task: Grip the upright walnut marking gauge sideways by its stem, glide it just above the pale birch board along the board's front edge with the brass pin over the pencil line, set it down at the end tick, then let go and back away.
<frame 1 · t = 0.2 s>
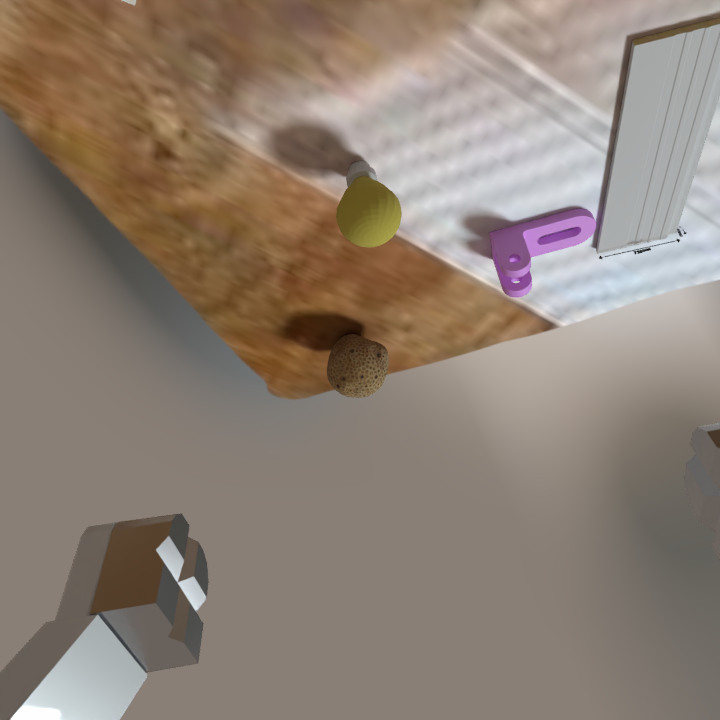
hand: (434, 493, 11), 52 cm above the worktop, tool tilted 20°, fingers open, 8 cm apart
bracket: (540, 230, 86), on the worktop
light bulb: (359, 168, 73), on the worktop
natural sponge: (353, 335, 100), on the worktop
baseboard molding: (660, 145, 77), on the worktop
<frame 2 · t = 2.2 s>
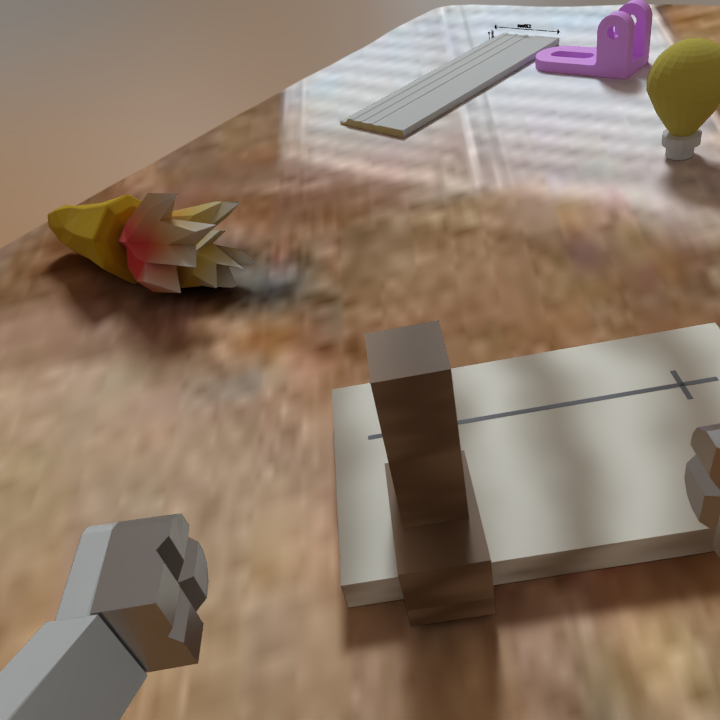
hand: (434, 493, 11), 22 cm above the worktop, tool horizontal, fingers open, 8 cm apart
bracket: (585, 69, 83), on the worktop
marking gauge: (437, 534, 34), point 2 cm above the worktop, touching birch board
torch: (151, 269, 64), on the worktop
light bulb: (679, 156, 62), on the worktop
birch board: (550, 461, 38), on the worktop
baseboard molding: (451, 88, 88), on the worktop
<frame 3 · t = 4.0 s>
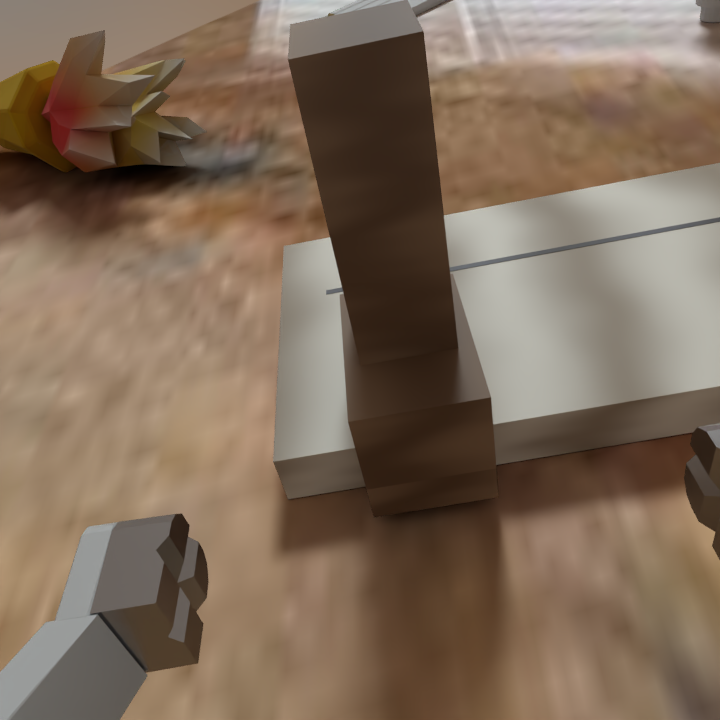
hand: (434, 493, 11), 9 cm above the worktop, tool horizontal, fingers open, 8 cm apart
marking gauge: (415, 394, 24), point 2 cm above the worktop, touching birch board
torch: (87, 159, 54), on the worktop
light bulb: (716, 20, 52), on the worktop
birch board: (572, 319, 28), on the worktop
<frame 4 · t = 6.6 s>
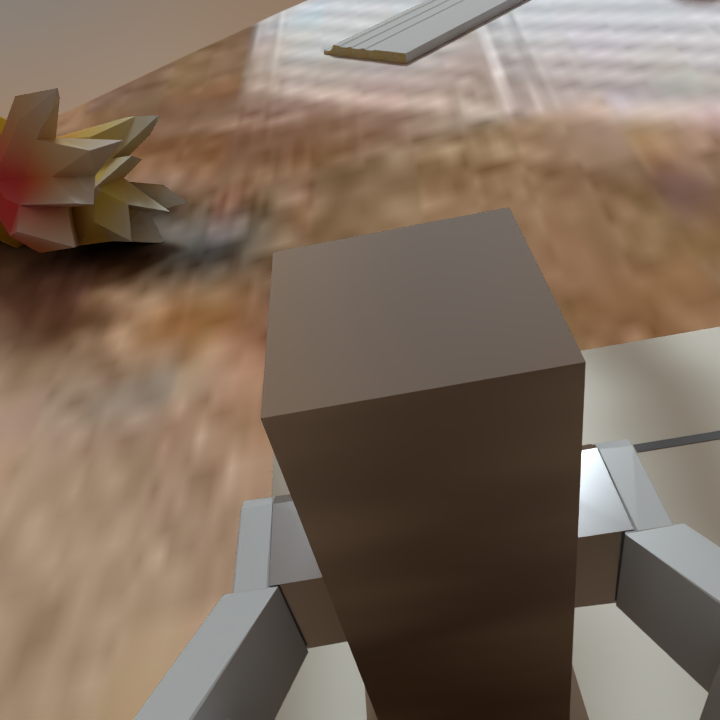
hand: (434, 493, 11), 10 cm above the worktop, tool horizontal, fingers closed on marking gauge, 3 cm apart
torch: (44, 229, 46), on the worktop
birch board: (689, 548, 20), on the worktop
baseboard molding: (465, 13, 69), on the worktop
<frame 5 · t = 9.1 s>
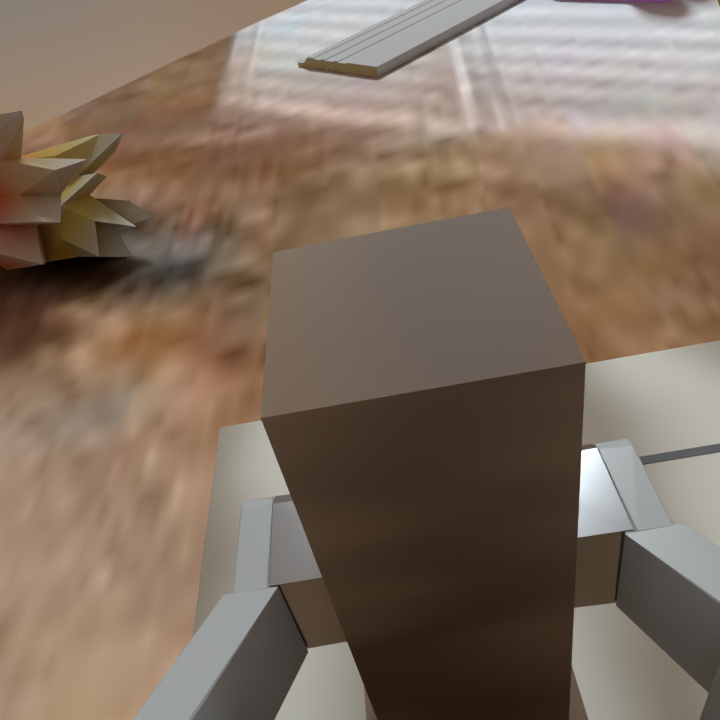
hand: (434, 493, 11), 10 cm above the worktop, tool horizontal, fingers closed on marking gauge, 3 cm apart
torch: (12, 245, 46), on the worktop
birch board: (602, 571, 21), on the worktop
baseboard molding: (439, 24, 70), on the worktop
when the fingers open (10 cm above the worktop, at t = 14.5 s): marking gauge stays where it is, resting on birch board.
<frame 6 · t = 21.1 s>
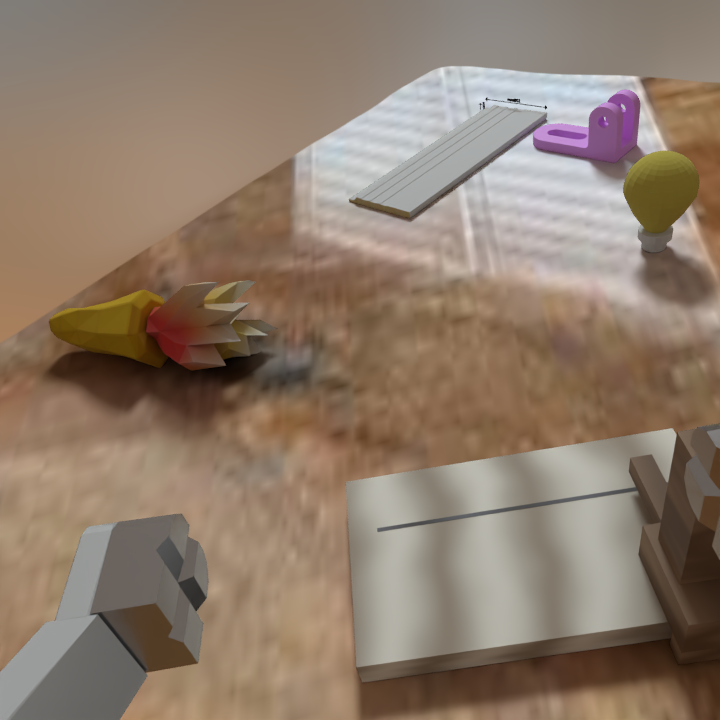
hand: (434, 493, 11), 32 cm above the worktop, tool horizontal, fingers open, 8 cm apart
bracket: (579, 148, 90), on the worktop
marking gauge: (688, 585, 40), point 2 cm above the worktop, touching birch board
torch: (167, 352, 71), on the worktop
light bulb: (653, 247, 70), on the worktop
birch board: (531, 552, 46), on the worktop
baseboard molding: (449, 162, 94), on the worktop
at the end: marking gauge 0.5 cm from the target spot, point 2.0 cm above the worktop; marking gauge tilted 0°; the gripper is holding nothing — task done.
